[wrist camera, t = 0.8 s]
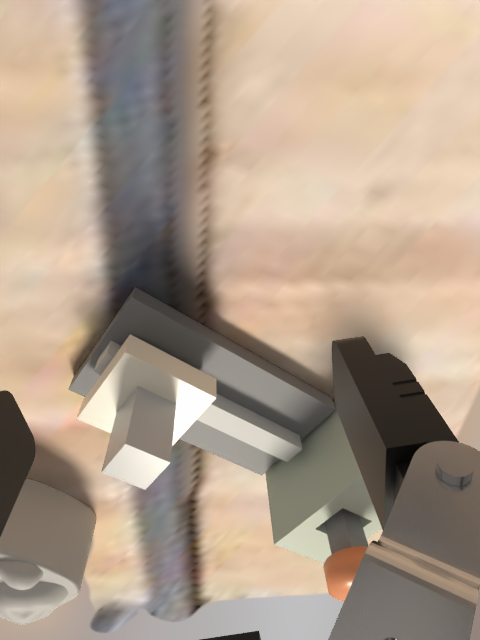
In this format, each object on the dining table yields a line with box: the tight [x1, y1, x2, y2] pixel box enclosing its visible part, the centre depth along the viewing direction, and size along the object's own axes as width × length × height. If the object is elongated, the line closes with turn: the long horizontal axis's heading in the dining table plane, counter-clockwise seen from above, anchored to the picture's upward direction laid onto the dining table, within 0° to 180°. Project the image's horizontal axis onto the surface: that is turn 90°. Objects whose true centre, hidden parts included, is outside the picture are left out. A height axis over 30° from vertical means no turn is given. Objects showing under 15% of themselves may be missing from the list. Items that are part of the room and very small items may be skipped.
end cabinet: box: [266, 400, 382, 563], centre depth 38 cm, size 10×6×8 cm, turn 144°
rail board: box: [69, 287, 335, 475], centre depth 36 cm, size 10×19×3 cm, turn 54°
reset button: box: [324, 508, 368, 601], centre depth 34 cm, size 4×4×7 cm
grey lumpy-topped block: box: [0, 479, 96, 624], centre depth 42 cm, size 10×13×9 cm
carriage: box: [77, 334, 217, 489], centre depth 30 cm, size 7×7×8 cm
